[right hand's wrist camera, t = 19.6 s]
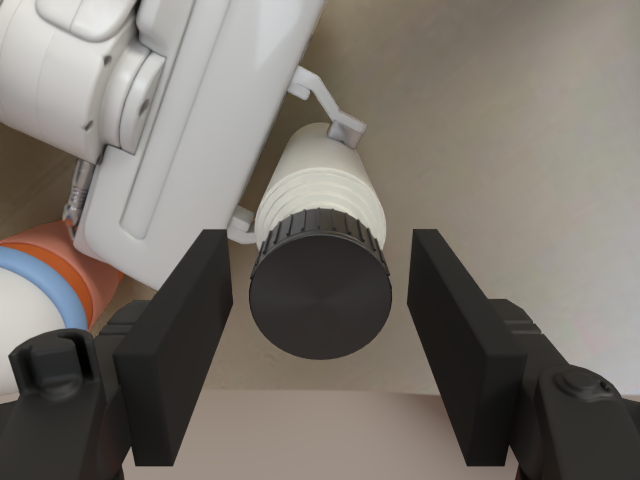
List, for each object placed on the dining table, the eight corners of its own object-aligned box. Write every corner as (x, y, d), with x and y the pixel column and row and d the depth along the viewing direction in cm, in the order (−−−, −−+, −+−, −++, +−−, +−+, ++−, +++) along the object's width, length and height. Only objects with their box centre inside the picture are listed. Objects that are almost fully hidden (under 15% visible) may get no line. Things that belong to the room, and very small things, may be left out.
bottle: (301, 109, 30) (272, 172, 12) (369, 142, 31) (443, 250, 12) (272, 177, 32) (205, 326, 13) (337, 206, 32) (359, 385, 14)
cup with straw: (69, 316, 36) (-151, 535, 19) (5, 217, 33) (-327, 374, 16) (169, 284, 35) (28, 485, 18) (113, 178, 31) (-122, 302, 15)
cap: (387, 312, 15) (399, 353, 13) (269, 326, 15) (261, 369, 13) (377, 198, 14) (388, 223, 11) (246, 215, 14) (233, 242, 12)
